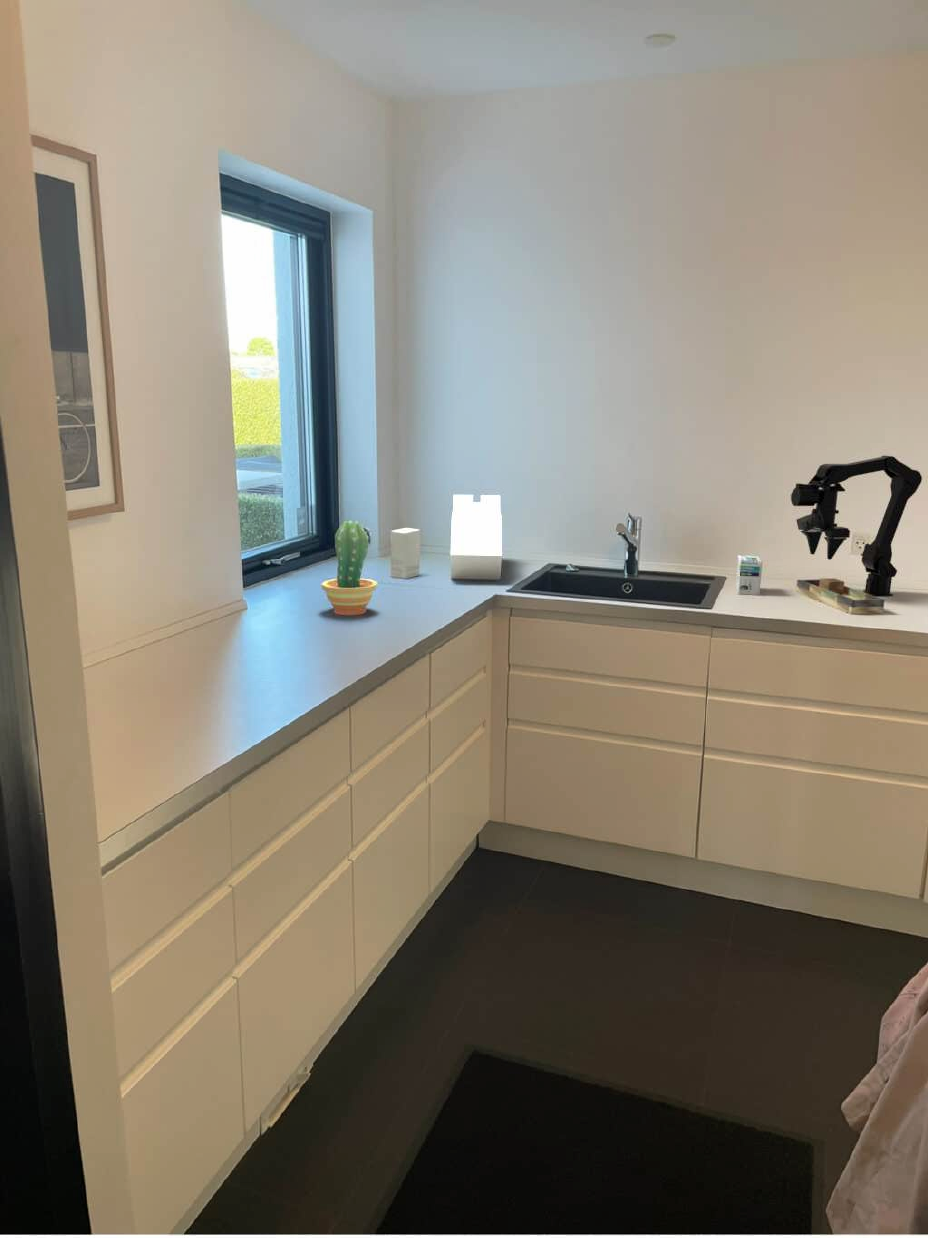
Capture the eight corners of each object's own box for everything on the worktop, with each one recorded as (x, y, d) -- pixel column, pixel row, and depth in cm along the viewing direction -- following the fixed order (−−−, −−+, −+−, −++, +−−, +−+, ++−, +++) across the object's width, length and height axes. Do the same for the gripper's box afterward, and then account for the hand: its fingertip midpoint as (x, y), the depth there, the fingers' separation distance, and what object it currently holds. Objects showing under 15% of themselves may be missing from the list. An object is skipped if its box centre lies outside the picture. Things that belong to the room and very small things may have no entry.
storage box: (501, 555, 291) (501, 470, 310) (450, 554, 291) (453, 469, 310) (498, 600, 314) (498, 518, 332) (451, 599, 314) (453, 517, 332)
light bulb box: (760, 595, 284) (763, 561, 282) (737, 594, 286) (740, 560, 283) (756, 588, 295) (759, 555, 292) (734, 587, 296) (737, 554, 293)
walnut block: (833, 591, 283) (835, 578, 282) (842, 594, 278) (844, 581, 277) (818, 591, 282) (820, 578, 281) (827, 595, 277) (829, 581, 276)
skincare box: (405, 573, 311) (405, 527, 307) (421, 575, 307) (421, 529, 303) (389, 577, 304) (389, 530, 301) (405, 579, 301) (405, 532, 297)
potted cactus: (383, 616, 250) (382, 524, 244) (326, 619, 246) (324, 526, 240) (372, 604, 265) (371, 517, 259) (318, 606, 260) (316, 518, 254)
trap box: (825, 591, 292) (826, 579, 291) (882, 613, 263) (884, 599, 262) (796, 592, 290) (797, 579, 289) (850, 614, 261) (852, 600, 260)
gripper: (785, 502, 288) (780, 552, 291) (819, 510, 270) (814, 562, 274) (818, 502, 290) (812, 551, 293) (853, 509, 272) (847, 561, 276)
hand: (820, 556), depth 284 cm, fingers open, 9 cm apart
